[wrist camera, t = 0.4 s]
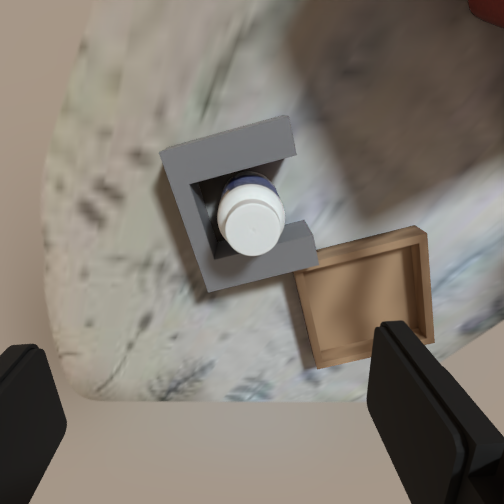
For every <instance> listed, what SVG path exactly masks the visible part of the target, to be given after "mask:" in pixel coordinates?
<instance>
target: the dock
mask: <svg viewBox="0 0 504 504" xmlns="http://www.w3.org/2000/svg"><path fill="white" fill-rule="evenodd" d="M159 154H160V157H161V160H162V163H163V166H164V169H165V171H166V174H167V177H168V180H169V183H170V186H171V188H172V191H173V194H174V197H175V200H176V203H177V205H178V208H179V211H180V214H181V217H182V220H183V222H184V225H185V228H186V231H187V234H188V237H189V239H190V242H191V245H192V248H193V251H194V254H195V256H196V259H197V262H198V265H199V268H200V271H201V274H202V276H203V279H204V282H205V285H206V288H207V291H208V293H209V292H213V291H217V290H221V289H225V288H229V287H233V286H237V285H241V284H245V283H249V282H253V281H257V280H261V279H265V278H269V277H273V276H277V275H281V274H285V273H289V272H293V271H297V270H301V269H305V268H309V267H313V266H317V265H319V261H318V257H317V252H316V247H315V242H314V237H313V234H312V232H311V231H310V229H309V227H308V225H307V224H306V222H305V220H302V221H298V222H294V223H290V224H286V225H284V229H283V231H282V233H281V235H280V237H279V239H278V242H277V243H276V245H275V246H274V247H273V248H272V249H271V250H270V251H268V252H266V253H264V254H262V255H258V256H247V255H243V254H241V253H239V252H237V251H236V250H234V249H233V248H232V247H231V245H230V244H229V243H228V242H227V241H226V240H224V241H220V242H217V240H216V237H215V234H214V230H213V227H212V224H211V221H210V218H209V215H208V212H207V209H206V205H205V202H204V199H203V196H202V193H201V190H200V187H199V184H198V182H199V181H203V180H206V179H210V178H214V177H217V176H221V175H225V174H229V173H232V172H236V171H240V170H243V169H247V168H251V167H254V166H258V165H262V164H266V163H269V162H273V161H277V160H280V159H284V158H288V157H291V156H295V155H297V154H296V149H295V144H294V139H293V134H292V129H291V124H290V119H289V116H284V115H282V116H278V117H274V118H271V119H267V120H264V121H260V122H257V123H253V124H249V125H246V126H242V127H239V128H235V129H231V130H228V131H224V132H221V133H217V134H214V135H210V136H206V137H203V138H199V139H196V140H192V141H188V142H185V143H181V144H178V145H174V146H171V147H168V148H166V149H164V150H162V151H160V152H159Z"/></svg>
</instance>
